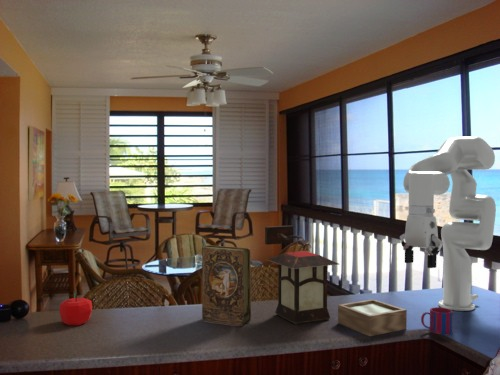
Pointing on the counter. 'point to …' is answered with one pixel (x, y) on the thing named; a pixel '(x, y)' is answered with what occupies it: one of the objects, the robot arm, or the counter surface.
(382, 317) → the tray
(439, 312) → the mug
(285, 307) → the lantern
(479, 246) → the robot arm
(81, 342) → the counter surface
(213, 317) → the book
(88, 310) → the apple
